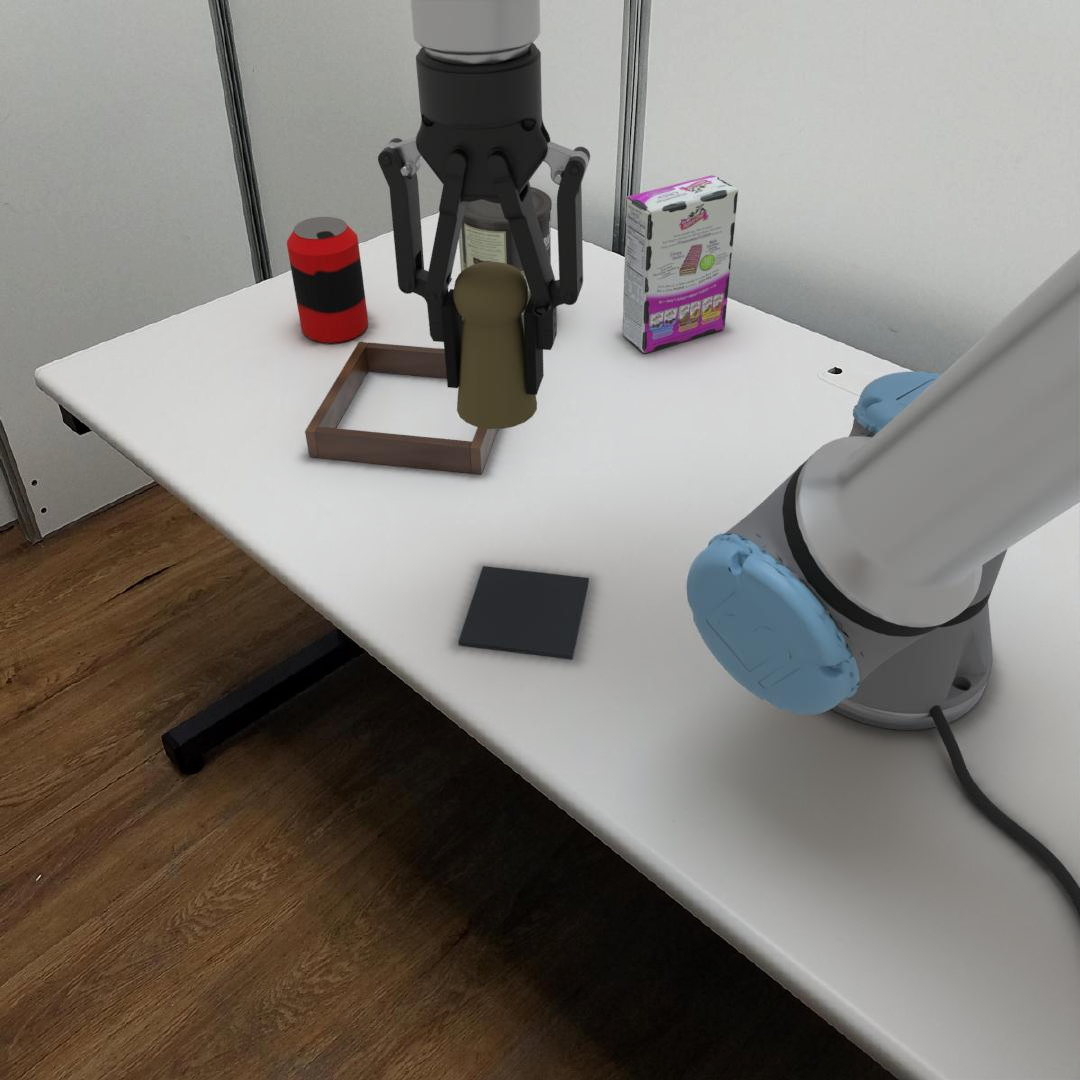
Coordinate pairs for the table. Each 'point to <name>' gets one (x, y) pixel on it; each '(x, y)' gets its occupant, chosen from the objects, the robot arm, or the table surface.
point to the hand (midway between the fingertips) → (495, 381)
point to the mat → (525, 612)
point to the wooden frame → (387, 446)
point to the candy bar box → (677, 262)
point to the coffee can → (498, 233)
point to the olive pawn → (492, 346)
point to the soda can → (328, 279)
